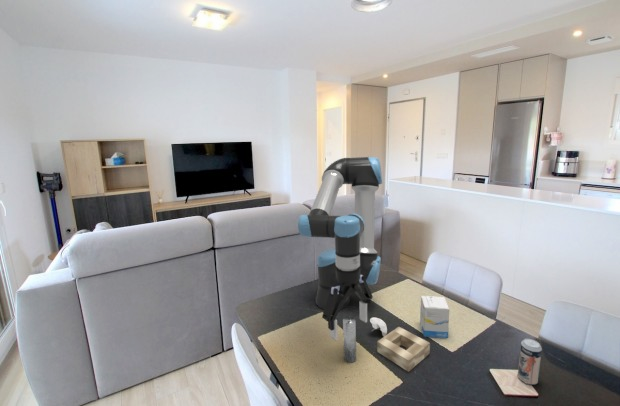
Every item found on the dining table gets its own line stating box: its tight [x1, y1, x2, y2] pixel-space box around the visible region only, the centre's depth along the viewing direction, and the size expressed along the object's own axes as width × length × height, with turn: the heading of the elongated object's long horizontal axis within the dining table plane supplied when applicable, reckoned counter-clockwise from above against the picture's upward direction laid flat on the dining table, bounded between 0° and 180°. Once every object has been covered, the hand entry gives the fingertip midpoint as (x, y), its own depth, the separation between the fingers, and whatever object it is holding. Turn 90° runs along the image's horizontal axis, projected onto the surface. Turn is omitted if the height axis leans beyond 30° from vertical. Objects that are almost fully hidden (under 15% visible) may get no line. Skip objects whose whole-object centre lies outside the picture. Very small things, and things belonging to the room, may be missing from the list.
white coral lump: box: [369, 317, 388, 337], centre depth 111 cm, size 8×7×6 cm
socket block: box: [376, 326, 431, 373], centre depth 99 cm, size 12×12×4 cm
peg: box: [342, 316, 357, 364], centre depth 97 cm, size 4×4×14 cm
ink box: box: [419, 295, 450, 339], centre depth 109 cm, size 9×8×12 cm
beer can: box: [517, 338, 543, 385], centre depth 85 cm, size 5×5×12 cm
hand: (349, 328), depth 96 cm, fingers open, 13 cm apart
